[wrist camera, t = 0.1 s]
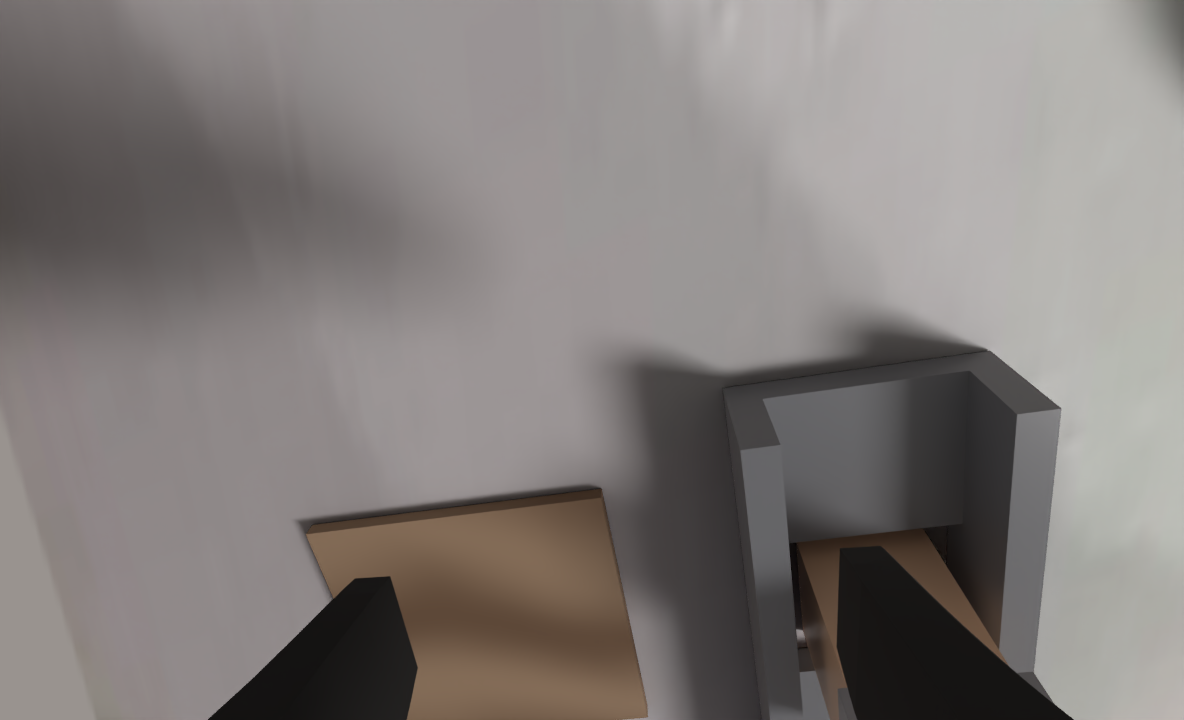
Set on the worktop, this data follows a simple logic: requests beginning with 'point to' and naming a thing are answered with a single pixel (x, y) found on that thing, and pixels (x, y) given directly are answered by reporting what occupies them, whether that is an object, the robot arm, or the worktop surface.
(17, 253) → the worktop surface
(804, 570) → the plug
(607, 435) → the worktop surface
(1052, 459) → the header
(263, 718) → the robot arm
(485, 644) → the walnut pad
